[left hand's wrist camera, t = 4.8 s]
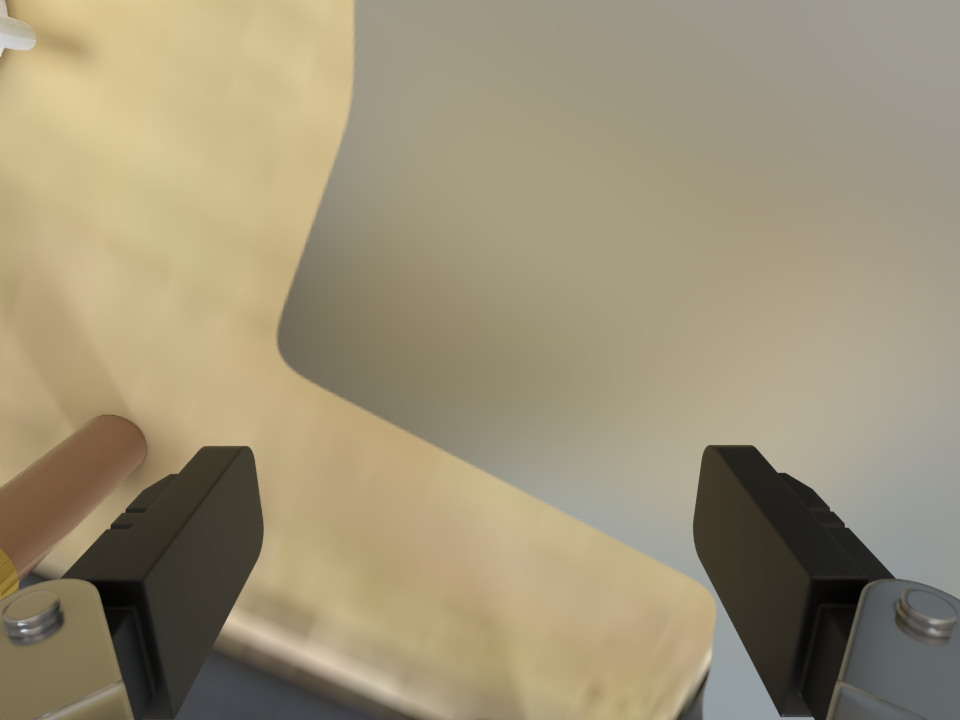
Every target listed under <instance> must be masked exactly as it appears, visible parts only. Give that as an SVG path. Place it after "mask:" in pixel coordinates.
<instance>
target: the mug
mask: <svg viewBox="0 0 960 720" xmlns="http://www.w3.org/2000/svg"><path fill="white" fill-rule="evenodd" d="M36 40H37V39H36V34H35V32H34V31H33V29H32V28H31V27H30V26H29V25H28V24H26V23H24V22H22V21H20V20H17V19H14V18H11V17H8V12H7V6H6V2H5V0H0V57H1V55H2V52H3V50H4V48H9V49H16V50H28V49H31V48H32V47H33V46H34V45H35V43H36Z"/></svg>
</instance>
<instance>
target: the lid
mask: <svg viewBox="0 0 960 720" xmlns="http://www.w3.org/2000/svg"><path fill="white" fill-rule="evenodd" d="M18 585H19V580H18V575H17V570H16V569H15V567H14V565H13V563H12V562H11V560H10V559H9V557H8V556H7V555H6V554H5V553H4V551H3V550H2V549H0V600H1V599H3V598H4V597H6V596H8V595H10V594H12V593H14V592H16V591H19V590H18Z"/></svg>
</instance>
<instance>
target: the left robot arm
mask: <svg viewBox="0 0 960 720" xmlns="http://www.w3.org/2000/svg"><path fill="white" fill-rule="evenodd" d="M263 532H264V526H263V516H262V509H261V502H260V495H259V487H258V480H257V473H256V466H255V459H254V455H253V452H252V450H251V449H250V448H249V447H248V446H204V447H202V448H201V449H200V450H199V451H198V452H197V453H196V455H195V456H194V457H193V458H192V459H191V460H190V461H189V462H188V464H187V465H186V466H185V467H184V468H183V469H182V470H181V472H180V473H179V474H170V475H168V476H167V477H165V478H163V479H162V480H160V481H158V482H157V483H155V484H153V485H151V486H150V487H148V488H146V489H145V490H143V491H142V492H141V493H140V494H139V496H138V497H137V498H136V499H135V500H134V501H133V502H132V503H131V504H130V505H129V506H128V507H127V508H126V512H125V513H122V514H121V515H120V516H119V517H118V518H117V519H116V520H115V521H114V522H113V523H112V524H111V528H110V529H107V530H106V531H105V532H104V533H103V534H102V535H101V536H100V537H99V538H98V539H97V540H96V541H95V542H94V543H93V545H92V546H91V547H90V548H89V549H88V550H87V551H86V552H85V553H84V554H83V555H82V556H81V557H80V558H79V559H78V560H77V562H76V563H75V564H74V565H73V566H72V567H71V568H70V569H69V570H68V571H67V572H66V573H65V574H64V575H63V576H62V578H61V579H58V580H51V581H46V582H42V583H38V584H35V585H32V586H29V587H26V588H24V589H21V590H19V591H16V592H14V593H12V594H10V595H8V596H6V597H4V598H3V599H1V600H0V720H141V719H175V717H176V715H177V713H178V711H179V709H180V708H181V706H182V704H183V702H184V700H185V698H186V696H187V694H188V692H189V690H190V688H191V686H192V685H193V683H194V681H195V679H196V677H197V675H198V673H199V671H200V669H201V667H202V665H203V663H204V661H205V660H206V658H207V656H208V654H209V652H210V650H211V648H212V646H213V644H214V642H215V640H216V638H217V636H218V635H219V633H220V631H221V629H222V627H223V625H224V623H225V621H226V619H227V617H228V615H229V613H230V611H231V610H232V608H233V606H234V604H235V602H236V600H237V598H238V596H239V594H240V592H241V590H242V588H243V587H244V585H245V583H246V581H247V579H248V577H249V575H250V573H251V571H252V569H253V567H254V565H255V563H256V562H257V560H258V557H259V555H260V551H261V548H262V542H263ZM693 534H694V543H695V548H696V551H697V554H698V557H699V559H700V561H701V563H702V565H703V567H704V569H705V571H706V573H707V575H708V576H709V578H710V580H711V582H712V584H713V586H714V588H715V590H716V592H717V594H718V596H719V598H720V600H721V602H722V604H723V606H724V608H725V610H726V612H727V613H728V615H729V617H730V619H731V621H732V623H733V625H734V627H735V629H736V631H737V633H738V635H739V637H740V639H741V641H742V643H743V645H744V646H745V649H746V650H747V652H748V654H749V656H750V658H751V660H752V662H753V664H754V666H755V668H756V670H757V672H758V674H759V676H760V678H761V680H762V682H763V684H764V685H765V687H766V689H767V691H768V693H769V695H770V697H771V699H772V701H773V703H774V705H775V707H776V709H777V711H778V713H779V715H780V716H781V717H814V719H815V720H960V600H959V599H957V598H956V597H954V596H952V595H950V594H948V593H946V592H943V591H941V590H939V589H936V588H934V587H931V586H928V585H925V584H922V583H918V582H914V581H909V580H902V579H896V578H895V577H894V576H893V575H892V574H891V573H890V572H889V571H888V570H887V569H886V568H885V567H884V565H883V564H882V563H881V562H880V561H879V560H878V559H877V558H876V557H875V556H874V555H873V554H872V553H871V551H870V550H869V549H868V548H867V547H866V546H865V545H864V544H863V543H862V542H861V541H860V540H859V539H858V538H857V536H856V535H855V534H854V533H853V532H852V531H851V530H850V529H849V528H845V524H844V523H843V521H842V520H841V519H840V518H839V517H838V516H837V515H836V514H835V513H834V512H830V507H829V506H828V505H827V504H826V503H825V502H824V501H823V500H822V499H821V498H820V497H819V496H818V495H817V494H816V492H815V491H814V490H813V489H811V488H810V487H808V486H806V485H805V484H803V483H801V482H800V481H798V480H796V479H795V478H793V477H791V476H790V475H788V474H786V473H777V472H776V470H775V469H774V468H773V467H772V466H771V465H770V464H769V462H768V461H767V460H766V459H765V458H764V457H763V456H762V454H761V453H760V452H759V451H758V450H757V449H756V448H755V447H754V446H752V445H709V446H707V447H706V448H705V450H704V453H703V456H702V462H701V469H700V476H699V484H698V491H697V498H696V506H695V513H694V521H693Z"/></svg>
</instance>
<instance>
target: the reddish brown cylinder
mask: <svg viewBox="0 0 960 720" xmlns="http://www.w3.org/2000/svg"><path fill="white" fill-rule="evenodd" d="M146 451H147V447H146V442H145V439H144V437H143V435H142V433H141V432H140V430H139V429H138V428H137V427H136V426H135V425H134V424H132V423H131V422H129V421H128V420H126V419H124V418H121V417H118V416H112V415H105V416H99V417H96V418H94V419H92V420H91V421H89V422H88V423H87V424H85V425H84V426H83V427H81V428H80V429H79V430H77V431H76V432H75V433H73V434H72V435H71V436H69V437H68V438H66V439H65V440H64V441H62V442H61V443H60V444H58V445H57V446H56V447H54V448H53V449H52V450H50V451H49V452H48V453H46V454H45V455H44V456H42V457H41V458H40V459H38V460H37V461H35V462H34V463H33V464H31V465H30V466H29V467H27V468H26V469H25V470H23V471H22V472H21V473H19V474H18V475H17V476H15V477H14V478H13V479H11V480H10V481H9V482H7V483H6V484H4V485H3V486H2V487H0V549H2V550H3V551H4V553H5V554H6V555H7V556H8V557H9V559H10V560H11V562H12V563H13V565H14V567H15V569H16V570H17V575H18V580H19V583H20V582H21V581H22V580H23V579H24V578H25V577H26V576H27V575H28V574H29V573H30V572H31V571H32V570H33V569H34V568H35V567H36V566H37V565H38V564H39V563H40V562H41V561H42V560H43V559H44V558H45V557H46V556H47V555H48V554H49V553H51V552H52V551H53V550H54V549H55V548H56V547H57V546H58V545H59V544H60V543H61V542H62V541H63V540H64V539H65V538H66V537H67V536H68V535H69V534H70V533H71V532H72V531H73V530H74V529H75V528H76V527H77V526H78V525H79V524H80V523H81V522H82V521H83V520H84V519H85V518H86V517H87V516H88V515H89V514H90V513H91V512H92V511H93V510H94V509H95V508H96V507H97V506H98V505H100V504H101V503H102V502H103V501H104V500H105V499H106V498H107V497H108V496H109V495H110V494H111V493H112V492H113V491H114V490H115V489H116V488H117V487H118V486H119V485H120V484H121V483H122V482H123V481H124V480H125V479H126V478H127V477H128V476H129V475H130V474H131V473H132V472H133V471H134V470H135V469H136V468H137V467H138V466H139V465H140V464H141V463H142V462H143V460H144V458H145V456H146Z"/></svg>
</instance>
